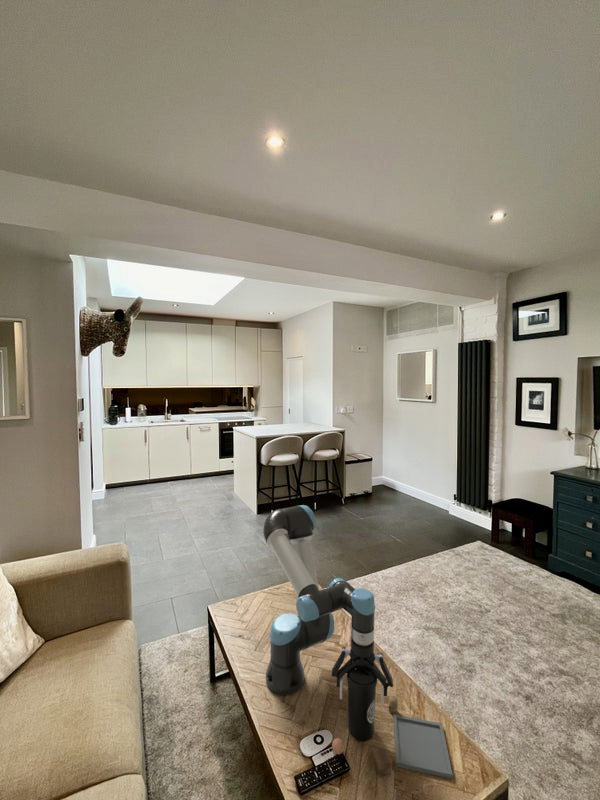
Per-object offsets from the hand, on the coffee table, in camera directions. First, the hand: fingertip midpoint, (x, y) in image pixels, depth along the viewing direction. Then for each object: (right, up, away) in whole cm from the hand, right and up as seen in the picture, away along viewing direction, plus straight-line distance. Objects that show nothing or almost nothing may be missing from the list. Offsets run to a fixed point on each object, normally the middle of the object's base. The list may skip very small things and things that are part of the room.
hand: (361, 699), depth 117 cm
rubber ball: (-9, -10, -7) cm, 15 cm away
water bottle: (0, -10, 0) cm, 10 cm away
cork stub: (+13, -10, +7) cm, 18 cm away
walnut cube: (+5, -11, -12) cm, 17 cm away
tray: (+18, -11, -5) cm, 22 cm away
